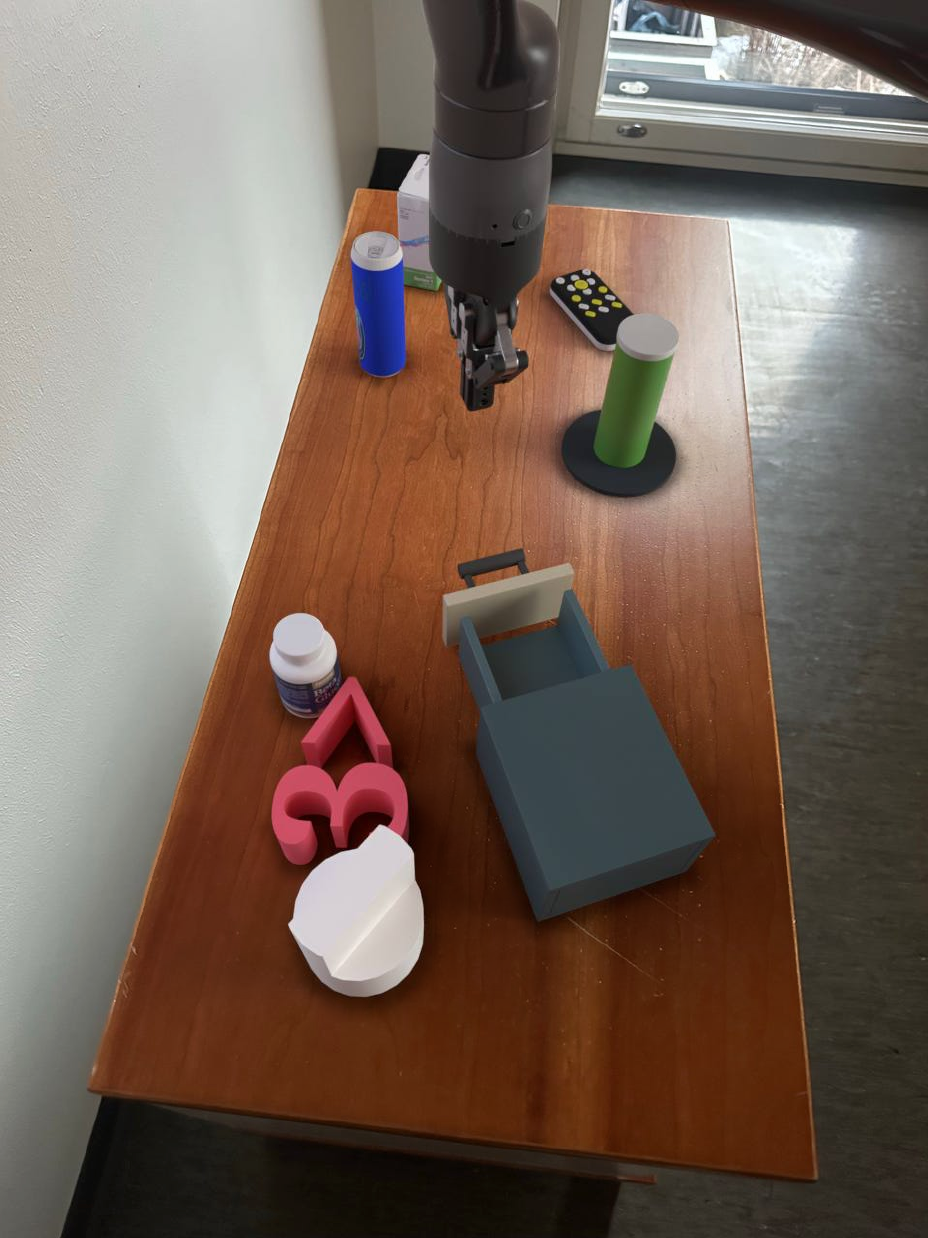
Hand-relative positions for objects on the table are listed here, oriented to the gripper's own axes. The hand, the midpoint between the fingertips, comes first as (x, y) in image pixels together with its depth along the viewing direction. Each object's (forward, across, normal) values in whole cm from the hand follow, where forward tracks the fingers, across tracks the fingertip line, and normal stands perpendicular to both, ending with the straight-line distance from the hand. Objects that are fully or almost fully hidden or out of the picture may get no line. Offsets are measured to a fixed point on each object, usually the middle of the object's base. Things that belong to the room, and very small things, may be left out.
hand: (476, 402), depth 71 cm
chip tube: (+18, -7, +19) cm, 27 cm away
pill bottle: (+19, +11, -18) cm, 29 cm away
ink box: (+19, -42, +9) cm, 47 cm away
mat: (+19, -7, +19) cm, 28 cm away
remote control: (+19, -28, +25) cm, 42 cm away
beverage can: (+19, -27, -1) cm, 33 cm away
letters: (+19, +20, -17) cm, 33 cm away
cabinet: (+19, +28, 0) cm, 34 cm away
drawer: (+18, +14, 0) cm, 23 cm away
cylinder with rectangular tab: (+19, +32, -19) cm, 42 cm away
